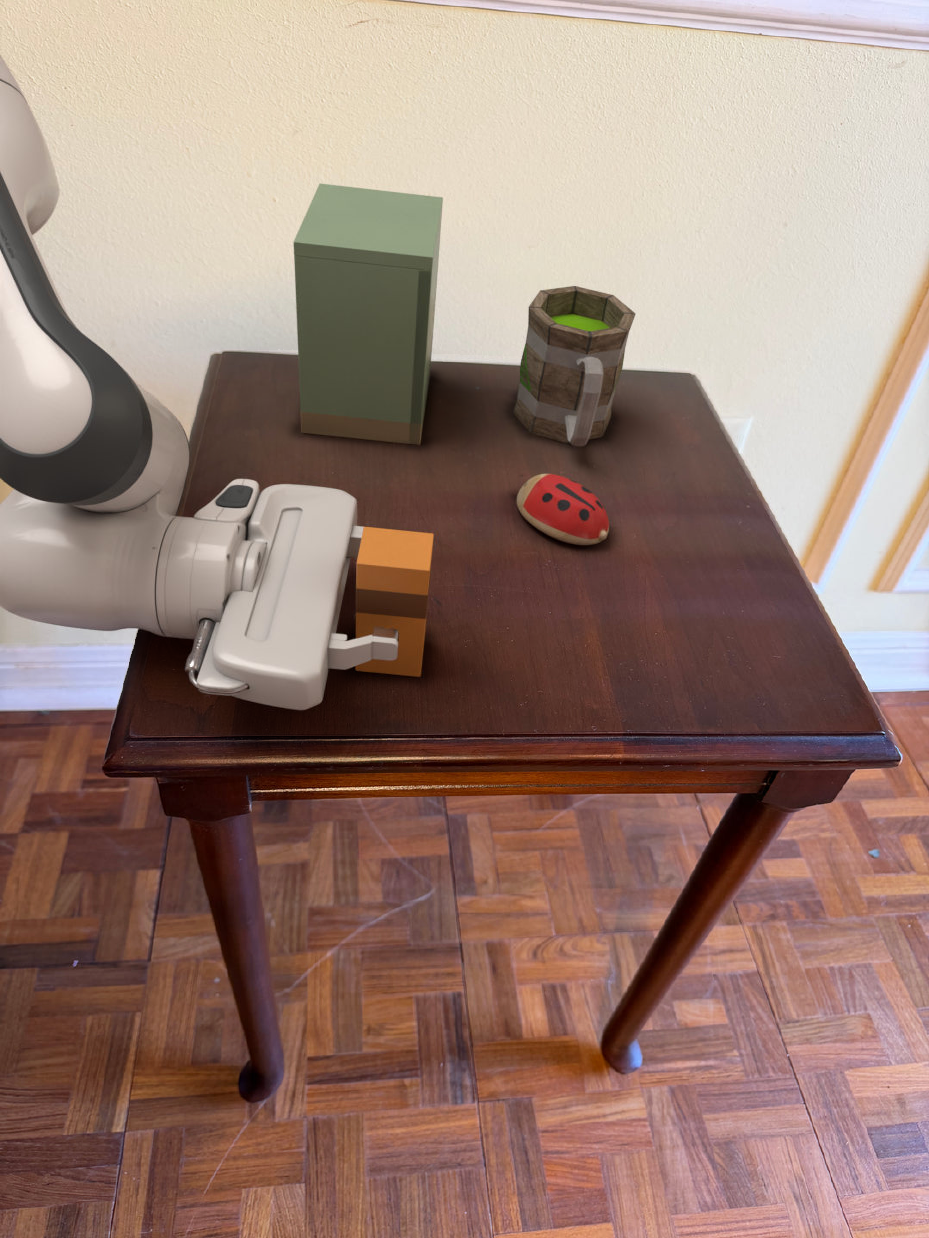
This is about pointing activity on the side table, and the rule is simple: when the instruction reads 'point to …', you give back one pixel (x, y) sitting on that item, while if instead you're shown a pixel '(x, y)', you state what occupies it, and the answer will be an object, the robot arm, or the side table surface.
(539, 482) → the ladybug figurine
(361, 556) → the granola carton
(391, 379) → the cubby
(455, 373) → the side table surface
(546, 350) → the mug
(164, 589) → the robot arm
